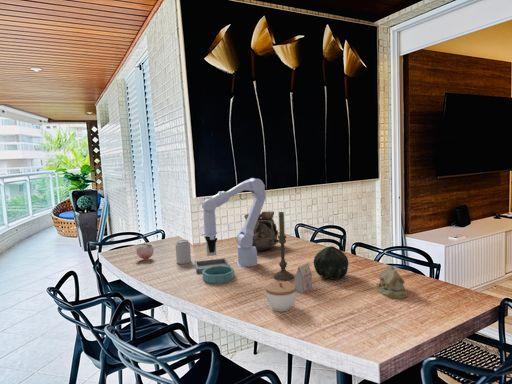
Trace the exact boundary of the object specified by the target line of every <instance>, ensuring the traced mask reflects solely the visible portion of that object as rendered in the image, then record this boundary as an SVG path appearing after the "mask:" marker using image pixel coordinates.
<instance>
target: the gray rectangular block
mask: <svg viewBox="0 0 512 384" xmlns="http://www.w3.org/2000/svg"><path fill="white" fill-rule="evenodd" d="M216 245H217V243H216V244H215V250H214V252H213V253H210V252H209V247H208V244H207V241H205V254H206V257H211V256H217V246H216Z"/></svg>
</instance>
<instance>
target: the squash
mask: <svg viewBox="0 0 512 384" xmlns="http://www.w3.org/2000/svg"><path fill="white" fill-rule="evenodd" d="M313 266H314V270H315V271H316V272H315V273H317V275H319V276H321V277H323V278H326V279H327V280H329V281H330V280H332V279H333V280H338V279H341V278H344V277H345V276H346V275H347V273H348V270H349V260H348V256H347V255H346V253H344V252H343V251H342V250H340V249H339V248H337V247H335V246H333V245H331V246H330V245H329V246H326V247H324V248H323V249H321V250H320V251H319V252H317V253H316V254H315V256H314V258H313Z"/></svg>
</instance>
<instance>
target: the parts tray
mask: <svg viewBox="0 0 512 384" xmlns="http://www.w3.org/2000/svg"><path fill="white" fill-rule="evenodd" d="M213 266H229V267H231V265H230V263H229V262H228V260H227V259H226V257H224V258H215V259H214V258H212V259H205V260H195V261H194V267H195V271H196V274H202V271H203V270H204V269H206V268H209V267H213Z"/></svg>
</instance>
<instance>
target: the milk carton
mask: <svg viewBox="0 0 512 384" xmlns="http://www.w3.org/2000/svg"><path fill="white" fill-rule="evenodd" d="M309 264H310V263H308V262H307V263H305V264H303V265H300V266H298V267H297V270H296V273H295V275H294V285H295V286H296V292H297V293H301V294H304V293H306V292H307V291H309V290H311V289H313V273H312V270H311V268H310V265H309Z"/></svg>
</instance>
